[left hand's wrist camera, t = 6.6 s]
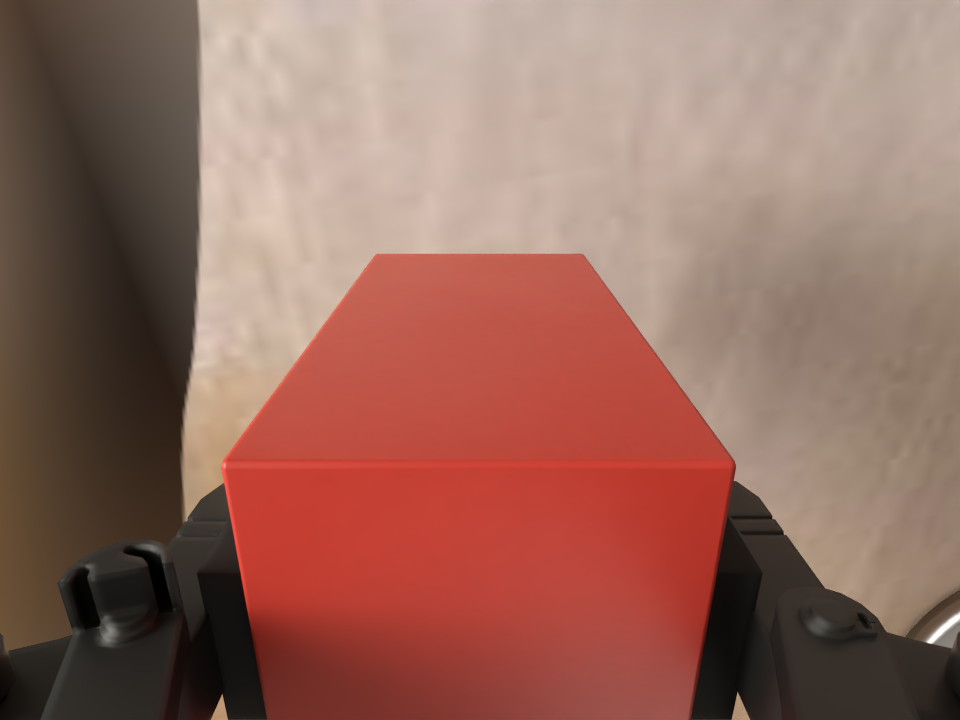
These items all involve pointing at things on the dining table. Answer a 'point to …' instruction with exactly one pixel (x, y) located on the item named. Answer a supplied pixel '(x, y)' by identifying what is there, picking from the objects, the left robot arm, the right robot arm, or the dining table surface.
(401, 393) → the block
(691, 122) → the dining table surface
